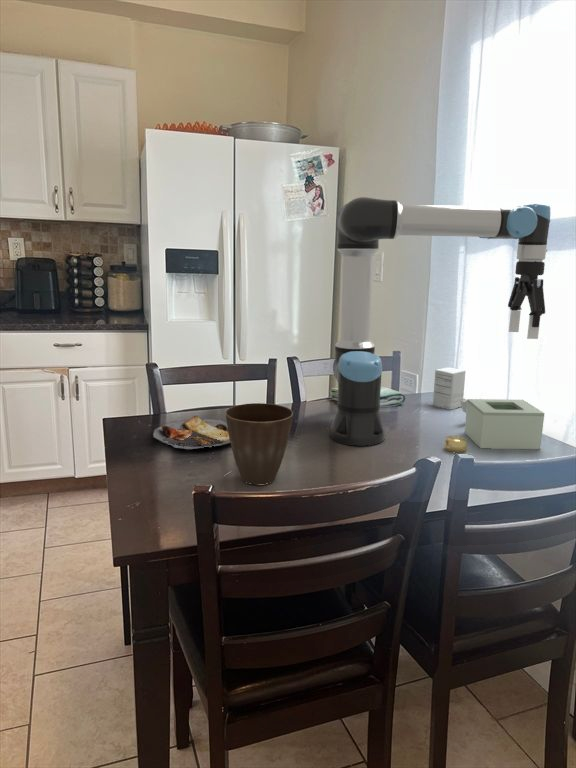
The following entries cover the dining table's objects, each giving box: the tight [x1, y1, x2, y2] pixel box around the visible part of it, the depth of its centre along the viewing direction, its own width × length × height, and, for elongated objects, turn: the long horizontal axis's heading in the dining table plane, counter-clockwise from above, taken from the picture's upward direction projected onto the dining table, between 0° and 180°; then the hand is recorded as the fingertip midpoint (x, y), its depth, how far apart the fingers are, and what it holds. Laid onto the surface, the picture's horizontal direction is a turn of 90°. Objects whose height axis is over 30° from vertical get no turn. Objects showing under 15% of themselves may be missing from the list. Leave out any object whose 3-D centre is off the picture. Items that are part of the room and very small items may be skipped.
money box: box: [464, 398, 545, 450], centre depth 159 cm, size 16×14×10 cm
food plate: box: [152, 415, 231, 450], centre depth 158 cm, size 25×23×4 cm
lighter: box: [460, 398, 468, 414], centre depth 174 cm, size 7×2×8 cm, turn 118°
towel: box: [329, 385, 407, 409], centre depth 199 cm, size 18×21×5 cm
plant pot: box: [224, 402, 294, 484], centre depth 128 cm, size 15×15×16 cm
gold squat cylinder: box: [444, 435, 468, 454], centre depth 152 cm, size 6×6×3 cm
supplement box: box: [432, 366, 466, 411], centre depth 193 cm, size 7×7×13 cm
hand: (522, 335), depth 167 cm, fingers open, 13 cm apart
